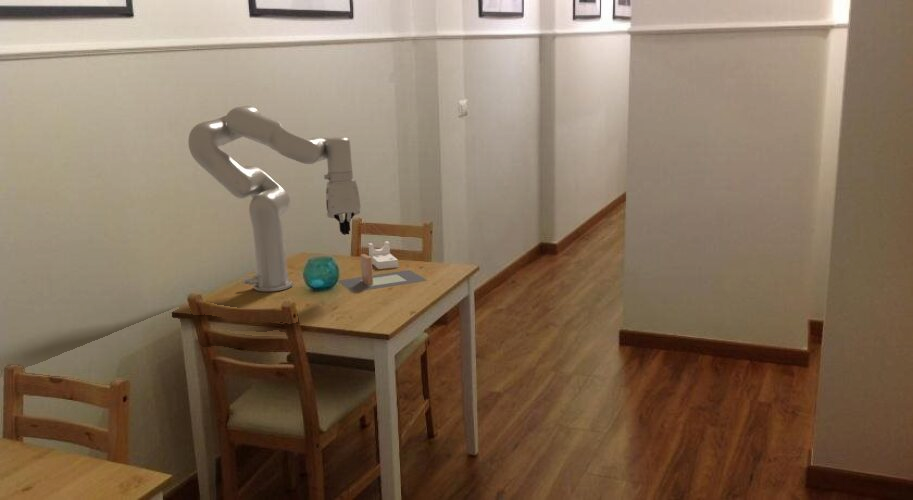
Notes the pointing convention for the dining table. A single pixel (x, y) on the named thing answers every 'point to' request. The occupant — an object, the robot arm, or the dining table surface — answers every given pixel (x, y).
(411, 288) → the dining table surface
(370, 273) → the tile
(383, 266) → the bracket
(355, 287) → the mat
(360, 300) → the dining table surface
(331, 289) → the dining table surface
